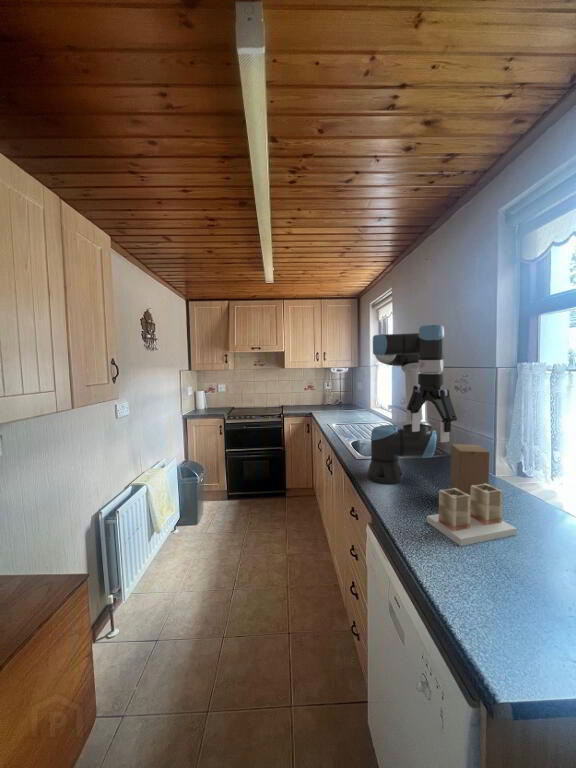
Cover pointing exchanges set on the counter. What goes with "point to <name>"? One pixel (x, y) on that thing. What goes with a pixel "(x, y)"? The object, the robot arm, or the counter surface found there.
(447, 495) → the sleeve
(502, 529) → the pin board
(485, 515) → the sleeve seated
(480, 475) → the wooden block
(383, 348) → the robot arm
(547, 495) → the counter surface
